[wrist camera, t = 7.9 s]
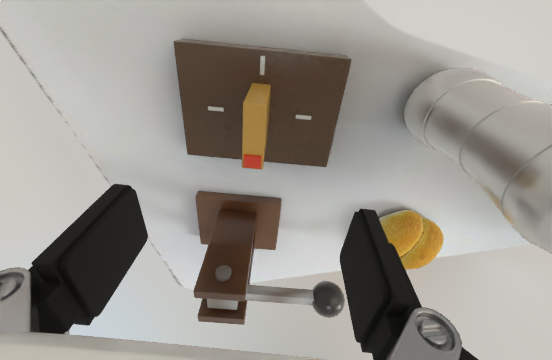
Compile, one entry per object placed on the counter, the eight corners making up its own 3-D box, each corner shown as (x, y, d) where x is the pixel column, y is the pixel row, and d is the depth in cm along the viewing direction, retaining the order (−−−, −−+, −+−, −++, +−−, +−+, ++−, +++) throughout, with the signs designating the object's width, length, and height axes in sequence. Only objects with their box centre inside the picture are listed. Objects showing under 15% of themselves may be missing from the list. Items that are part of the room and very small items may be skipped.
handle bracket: (281, 198, 30) (279, 287, 20) (275, 243, 35) (272, 334, 25) (198, 191, 30) (156, 278, 20) (203, 237, 34) (171, 327, 25)
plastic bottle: (388, 87, 23) (668, 291, 6) (470, 46, 21) (1209, 186, 4) (405, 144, 26) (622, 382, 9) (478, 113, 24) (922, 347, 7)
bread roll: (394, 197, 30) (407, 221, 26) (446, 225, 32) (465, 250, 29) (349, 239, 34) (357, 264, 31) (399, 261, 36) (411, 287, 33)
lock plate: (346, 55, 21) (352, 59, 20) (323, 157, 27) (326, 168, 25) (181, 38, 21) (172, 41, 19) (193, 145, 27) (186, 155, 25)
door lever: (344, 275, 25) (351, 307, 22) (337, 294, 27) (342, 325, 24) (212, 265, 24) (204, 296, 22) (214, 284, 26) (206, 315, 24)
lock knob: (252, 82, 21) (242, 103, 16) (271, 84, 21) (267, 106, 16) (250, 137, 24) (241, 169, 19) (266, 139, 24) (262, 171, 19)
